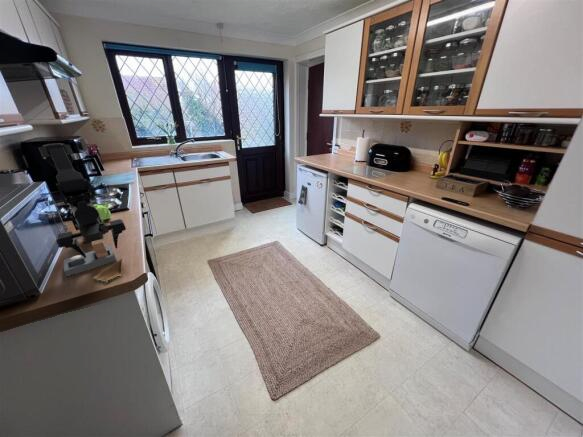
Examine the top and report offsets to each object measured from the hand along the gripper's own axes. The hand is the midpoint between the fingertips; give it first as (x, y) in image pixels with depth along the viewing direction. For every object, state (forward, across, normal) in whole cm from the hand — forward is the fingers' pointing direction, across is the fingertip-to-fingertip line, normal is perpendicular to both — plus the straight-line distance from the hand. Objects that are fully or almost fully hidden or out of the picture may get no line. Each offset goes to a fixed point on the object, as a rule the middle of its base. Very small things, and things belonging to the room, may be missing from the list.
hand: (101, 252), depth 87 cm
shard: (+4, 0, -10) cm, 11 cm away
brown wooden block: (+4, 0, 0) cm, 4 cm away
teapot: (+4, +2, +45) cm, 45 cm away
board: (+4, -4, +1) cm, 5 cm away
